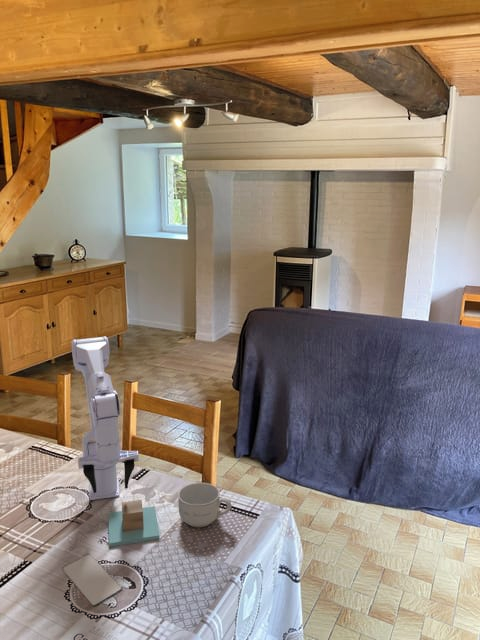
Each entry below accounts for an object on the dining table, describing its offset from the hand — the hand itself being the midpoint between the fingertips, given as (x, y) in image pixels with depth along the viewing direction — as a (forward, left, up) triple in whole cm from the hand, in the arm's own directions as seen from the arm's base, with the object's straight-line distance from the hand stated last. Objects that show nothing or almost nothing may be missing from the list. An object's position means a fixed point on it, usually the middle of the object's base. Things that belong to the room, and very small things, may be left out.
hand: (110, 488), depth 130 cm
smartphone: (+20, -5, -10) cm, 22 cm away
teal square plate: (+4, +5, -9) cm, 11 cm away
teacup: (+6, +23, -10) cm, 26 cm away
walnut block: (+4, +5, -8) cm, 11 cm away
